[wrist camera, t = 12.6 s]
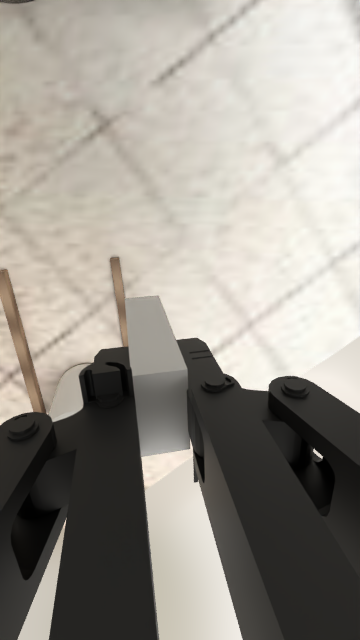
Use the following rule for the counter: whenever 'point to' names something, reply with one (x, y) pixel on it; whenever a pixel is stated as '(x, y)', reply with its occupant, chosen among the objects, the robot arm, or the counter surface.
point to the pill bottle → (67, 395)
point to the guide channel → (3, 289)
